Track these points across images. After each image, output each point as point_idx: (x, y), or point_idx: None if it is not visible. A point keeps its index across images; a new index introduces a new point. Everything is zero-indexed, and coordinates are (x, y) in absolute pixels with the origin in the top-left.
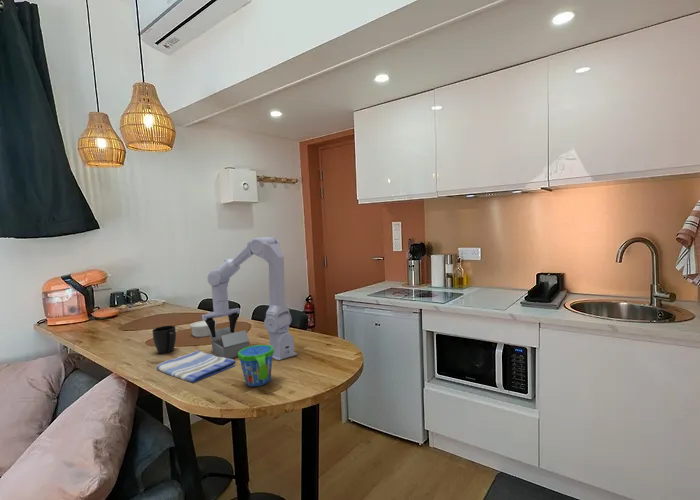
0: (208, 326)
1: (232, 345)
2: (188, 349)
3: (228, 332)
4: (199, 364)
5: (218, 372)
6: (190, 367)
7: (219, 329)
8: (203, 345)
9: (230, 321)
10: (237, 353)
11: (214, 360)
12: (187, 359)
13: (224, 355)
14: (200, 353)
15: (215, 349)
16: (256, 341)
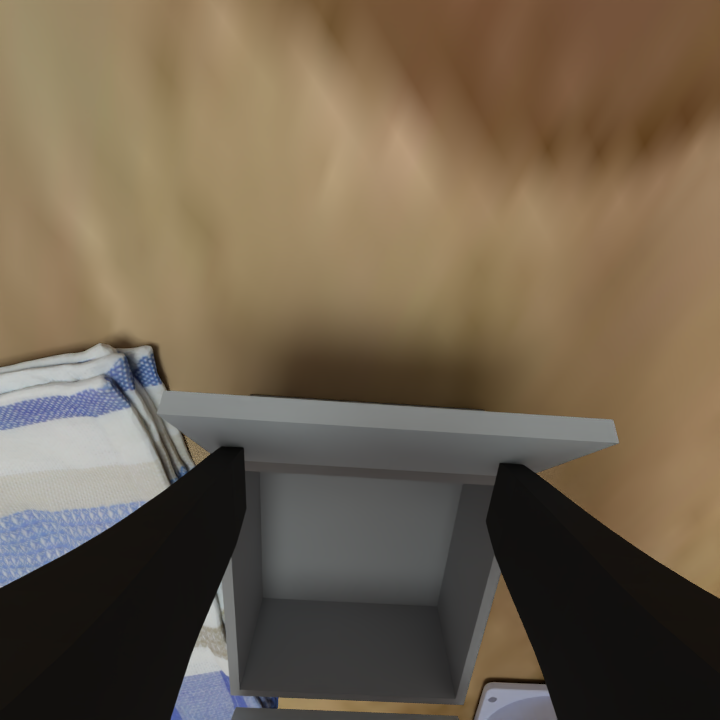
0: (65, 572)
1: (310, 710)
2: (60, 14)
3: (471, 459)
4: None
5: None
6: None
7: (366, 430)
8: (261, 15)
9: (603, 649)
10: (353, 624)
11: None
12: (6, 449)
13: (254, 631)
14: (118, 434)
15: None
16: (673, 418)
